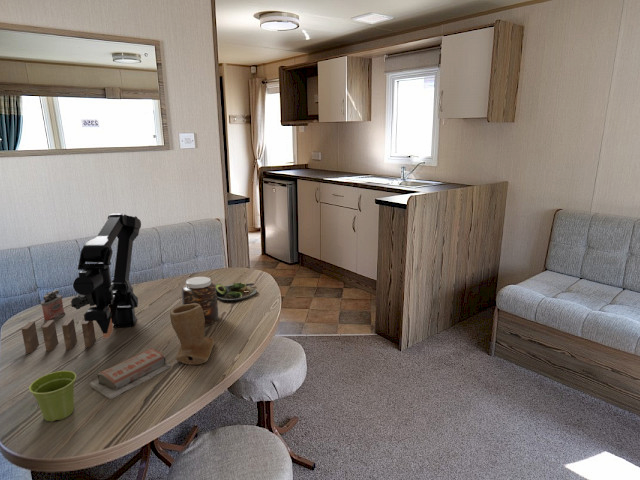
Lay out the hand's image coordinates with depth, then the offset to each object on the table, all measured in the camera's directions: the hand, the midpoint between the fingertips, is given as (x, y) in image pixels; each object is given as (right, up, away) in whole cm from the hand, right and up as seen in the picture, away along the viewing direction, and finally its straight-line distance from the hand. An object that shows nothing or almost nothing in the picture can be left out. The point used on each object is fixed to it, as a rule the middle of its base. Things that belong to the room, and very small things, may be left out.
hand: (107, 329), depth 133 cm
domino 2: (-16, -5, -2) cm, 17 cm away
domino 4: (-5, -4, 0) cm, 7 cm away
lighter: (-28, 0, +18) cm, 33 cm away
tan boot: (+29, -6, -7) cm, 31 cm away
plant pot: (+5, -13, -33) cm, 36 cm away
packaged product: (+16, -10, -18) cm, 26 cm away
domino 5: (0, -2, 0) cm, 2 cm away
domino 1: (-22, -5, -3) cm, 22 cm away
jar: (+25, 0, +16) cm, 30 cm away
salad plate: (+31, +5, +40) cm, 51 cm away
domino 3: (-11, -5, -1) cm, 12 cm away
